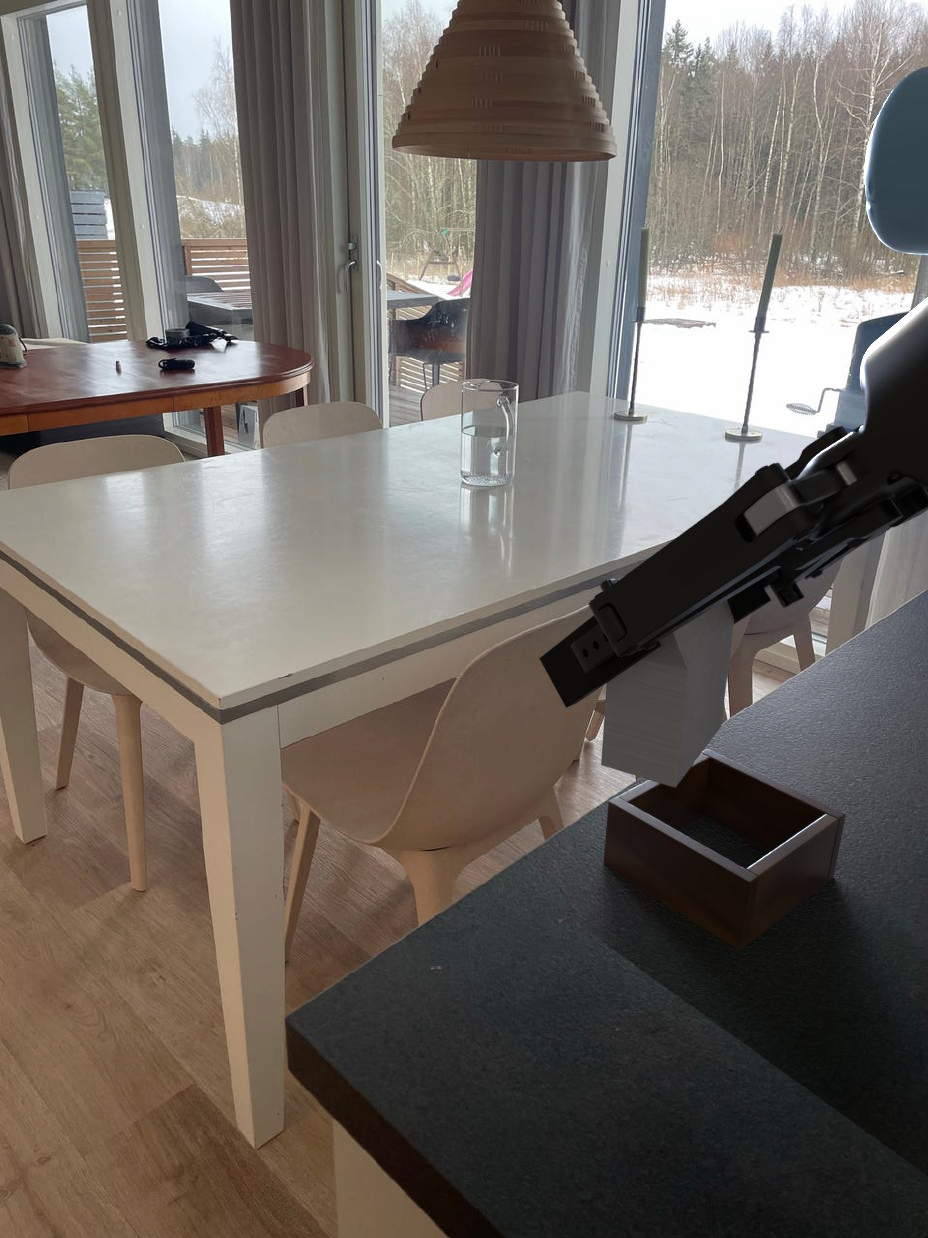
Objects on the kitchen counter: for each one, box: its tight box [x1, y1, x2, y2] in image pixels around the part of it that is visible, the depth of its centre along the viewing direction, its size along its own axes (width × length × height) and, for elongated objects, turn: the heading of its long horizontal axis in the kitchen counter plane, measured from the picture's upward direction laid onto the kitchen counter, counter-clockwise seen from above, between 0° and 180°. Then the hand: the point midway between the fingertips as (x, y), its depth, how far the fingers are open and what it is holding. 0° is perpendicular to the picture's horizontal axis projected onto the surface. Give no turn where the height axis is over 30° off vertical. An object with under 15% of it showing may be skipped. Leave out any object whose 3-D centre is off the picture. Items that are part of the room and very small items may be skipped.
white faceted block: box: [600, 600, 735, 788], centre depth 44 cm, size 4×7×10 cm, turn 148°
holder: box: [603, 748, 846, 951], centre depth 55 cm, size 10×10×6 cm
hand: (615, 657), depth 47 cm, fingers closed on white faceted block, 8 cm apart
